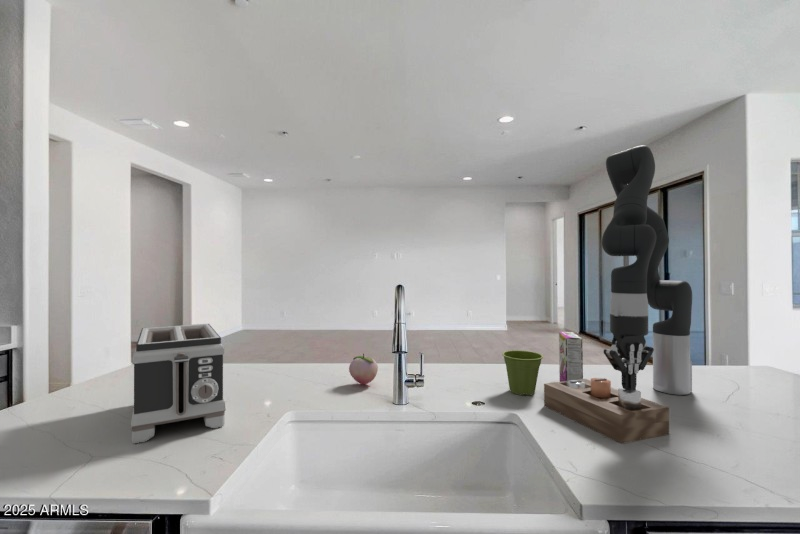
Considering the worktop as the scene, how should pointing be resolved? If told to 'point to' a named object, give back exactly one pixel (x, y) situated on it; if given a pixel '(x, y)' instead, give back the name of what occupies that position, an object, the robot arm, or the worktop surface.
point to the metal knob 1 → (575, 384)
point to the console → (607, 412)
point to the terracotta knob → (600, 387)
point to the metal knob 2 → (629, 399)
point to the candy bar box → (570, 356)
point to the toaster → (177, 378)
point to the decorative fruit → (363, 369)
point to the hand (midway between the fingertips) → (628, 389)
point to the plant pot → (522, 370)
